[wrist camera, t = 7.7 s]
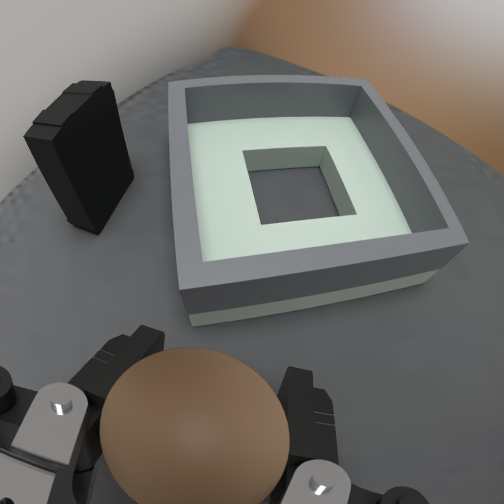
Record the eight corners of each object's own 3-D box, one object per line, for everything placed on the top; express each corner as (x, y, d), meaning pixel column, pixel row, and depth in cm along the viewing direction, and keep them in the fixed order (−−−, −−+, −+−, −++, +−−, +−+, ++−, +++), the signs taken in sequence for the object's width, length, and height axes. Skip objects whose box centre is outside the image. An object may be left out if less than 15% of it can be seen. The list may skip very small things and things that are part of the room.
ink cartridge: (108, 171, 21) (79, 75, 14) (135, 177, 20) (111, 76, 14) (71, 226, 18) (19, 132, 11) (98, 236, 18) (49, 136, 11)
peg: (247, 377, 14) (268, 334, 7) (265, 459, 12) (306, 505, 5) (160, 389, 13) (90, 356, 6) (175, 472, 11) (119, 525, 4)
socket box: (349, 128, 25) (366, 79, 20) (423, 283, 18) (469, 242, 14) (174, 138, 22) (168, 82, 18) (192, 326, 16) (179, 289, 12)
